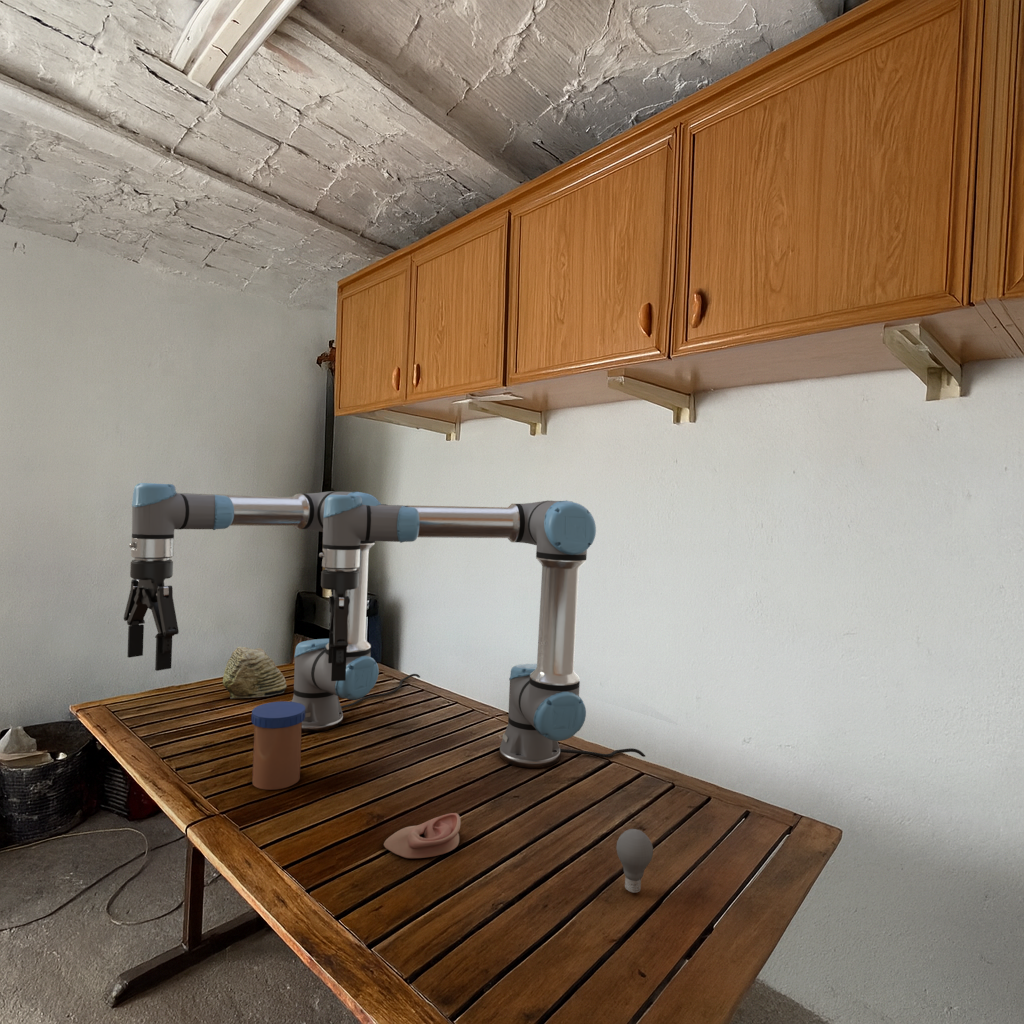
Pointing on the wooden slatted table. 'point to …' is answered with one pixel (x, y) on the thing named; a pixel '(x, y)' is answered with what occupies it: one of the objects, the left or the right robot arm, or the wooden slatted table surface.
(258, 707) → the lid
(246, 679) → the fossil
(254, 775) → the jar
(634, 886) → the light bulb
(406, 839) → the anatomical model
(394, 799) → the wooden slatted table surface
